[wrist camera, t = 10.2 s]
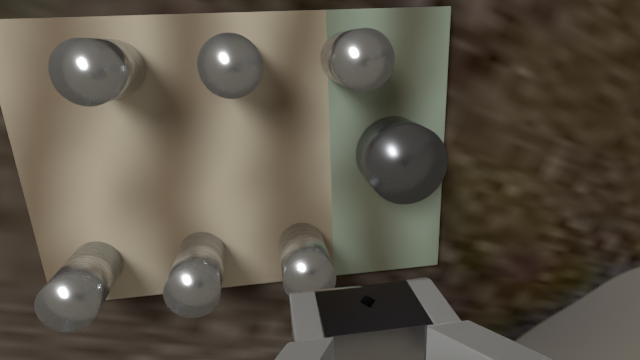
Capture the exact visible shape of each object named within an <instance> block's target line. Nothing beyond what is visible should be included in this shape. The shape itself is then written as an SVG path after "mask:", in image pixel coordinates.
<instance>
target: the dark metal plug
mask: <svg viewBox="0 0 640 360" xmlns="http://www.w3.org/2000/svg"><path fill="white" fill-rule="evenodd" d="M356 162H357V166H358V168H359V170H360V172H361V174H362V175H363V176H364V178H365V179H366V180H367V181H368V182H369V184H370V185H371V186H372V187H373V189H374V190H375V191H376V192H377V193H378V194H379V195H380V196H381V197H382V198H384V199H385V200H387V201H389V202H392V203H395V204H413V203H416V202H419V201H421V200H423V199H425V198H427V197H428V196H430V195H431V194H432V193H433V192H434V191H435V190H436V189H437V188H438V187H439V185H440V184H441V182H442V180H443V179H444V176H445V174H446V170H447V164H448V157H447V152H446V148H445V146H444V143H443V142H442V140H441V139H440V138H439V136H438V135H437V134H435V133H434V132H433V131H431V130H430V129H428V128H426V127H424V126H422V125H420V124H417V123H415V122H413V121H411V120H409V119H407V118H404V117H400V116H389V117H384V118H381V119H379V120H377V121H375V122H373V123H372V124H371V125H369V126H368V127H367V128H366V130H365V131H364V132H363V133H362V135H361V137H360V139H359V141H358V144H357V148H356Z"/></svg>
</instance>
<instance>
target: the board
mask: <svg viewBox="0 0 640 360" xmlns="http://www.w3.org/2000/svg"><path fill="white" fill-rule="evenodd" d="M450 18H451V6H445V7H410V8H376V9H341V10H306V11H271V12H237V13H202V14H167V15H132V16H98V17H63V18H28V19H0V105H1V109H2V113H3V117H4V120H5V124H6V128H7V132H8V136H9V139H10V143H11V147H12V151H13V155H14V158H15V162H16V166H17V170H18V173H19V177H20V181H21V185H22V189H23V192H24V196H25V200H26V204H27V208H28V211H29V215H30V219H31V223H32V227H33V230H34V234H35V238H36V242H37V246H38V249H39V253H40V257H41V261H42V265H43V268H44V272H45V276H46V280H47V283H48V282H49V281H50V279H51V278H52V277H53V276H54V275H55V274H56V273H57V272H58V270H59V269H60V268H61V267H62V266H63V265H64V264H65V262H66V261H67V260H68V259H69V258H70V257H71V256H72V255H73V253H74V252H75V251H76V250H77V249H78V248H79V247H80V246H82V245H83V244H86V243H89V242H104V243H107V244H109V245H111V246H113V247H114V248H115V249H117V250H118V252H119V253H120V254H121V256H122V259H123V270H122V272H121V274H120V276H119V277H118V279H117V281H116V283H115V284H114V286H113V288H112V289H111V291H110V293H109V294H108V296H107V298H106V299H105V300H112V299H121V298H131V297H140V296H149V295H159V294H163V290H164V286H165V284H166V281H167V278H168V276H169V273H170V270H171V268H172V265H173V263H174V260H175V257H176V255H177V252H178V250H179V247H180V244H181V243H182V241H183V240H184V239H185V238H186V237H187V236H189V235H191V234H193V233H197V232H208V233H211V234H214V235H216V236H217V237H218V238H220V239H221V240H222V242H223V243H224V245H225V248H226V259H225V266H224V273H223V280H222V287H221V288H224V287H233V286H243V285H252V284H261V283H271V282H280V281H283V279H282V270H281V261H280V253H279V239H280V236H281V234H282V233H283V232H284V230H285V229H287V228H288V227H289V226H291V225H293V224H297V223H308V224H311V225H313V226H315V227H316V228H317V229H318V230H319V231H320V232H321V234H322V236H323V239H324V242H325V245H326V248H327V251H328V253H329V256H330V259H331V262H332V265H333V268H334V271H335V274H336V275H345V274H355V273H364V272H373V271H383V270H392V269H401V268H411V267H420V266H430V265H437V264H438V245H439V226H440V208H441V189H442V182H441V184H440V185H439V187H438V188H437V189H436V190H435V191H434V192H433V193H432V194H431V195H430V196H428V197H427V198H425V199H423V200H421V201H419V202H416V203H413V204H395V203H392V202H389V201H387V200H385V199H384V198H382V197H381V196H380V195H379V194H378V193H377V192H376V191H375V190H374V189H373V187H372V186H371V185H370V184H369V182H368V181H367V180H366V179H365V178H364V176H363V175H362V174H361V172H360V170H359V168H358V166H357V162H356V148H357V144H358V141H359V139H360V137H361V135H362V133H363V132H364V131H365V130H366V128H367V127H368V126H369V125H371V124H372V123H373V122H375V121H377V120H379V119H381V118H384V117H389V116H400V117H404V118H407V119H409V120H411V121H413V122H415V123H417V124H420V125H422V126H424V127H426V128H428V129H430V130H431V131H433V132H434V133H435V134H437V135H438V136H439V138H440V139H441V140H442V142H443V143H444V132H445V113H446V94H447V75H448V56H449V37H450ZM359 28H372V29H375V30H378V31H380V32H381V33H383V34H384V35H385V36H386V37H387V38H388V39H389V41H390V42H391V44H392V47H393V50H394V55H395V63H394V68H393V71H392V73H391V75H390V77H389V79H388V80H387V81H386V82H385V83H384V84H383V85H382V86H380V87H379V88H377V89H375V90H373V91H368V92H359V91H355V90H352V89H350V88H348V87H345V86H343V85H341V84H339V83H337V82H334V81H333V80H331V79H330V78H329V77H328V76H327V75H326V74H325V73H324V71H323V69H322V66H321V62H320V54H321V50H322V47H323V45H324V43H325V42H326V40H327V39H328V38H329V37H331V36H332V35H334V34H335V33H338V32H342V31H347V30H353V29H359ZM221 33H236V34H239V35H242V36H244V37H246V38H247V39H249V40H250V41H251V42H252V43H253V44H254V45H255V46H256V48H257V49H258V51H259V53H260V55H261V58H262V64H263V72H262V77H261V80H260V82H259V84H258V85H257V87H256V88H255V89H254V90H253V91H252V92H251V93H249V94H248V95H246V96H244V97H241V98H237V99H227V98H222V97H219V96H217V95H215V94H214V93H212V92H211V91H210V90H208V89H207V88H206V86H205V85H204V84H203V82H202V81H201V78H200V76H199V73H198V68H197V59H198V55H199V52H200V50H201V48H202V46H203V45H204V43H205V42H206V41H207V40H209V39H210V38H211V37H213V36H215V35H217V34H221ZM71 38H97V39H117V40H122V41H125V42H127V43H129V44H131V45H132V46H134V47H135V48H136V49H137V50H138V51H139V52H140V54H141V55H142V57H143V59H144V61H145V65H146V76H145V80H144V82H143V84H142V85H141V87H140V88H139V89H137V90H136V91H135V92H133V93H130V94H128V95H125V96H123V97H120V98H117V99H115V100H112V101H109V102H107V103H104V104H101V105H98V106H92V107H87V106H81V105H77V104H74V103H72V102H70V101H68V100H67V99H65V98H64V97H63V96H62V95H60V93H59V92H58V91H57V90H56V89H55V87H54V86H53V84H52V82H51V80H50V76H49V72H48V63H49V58H50V55H51V53H52V52H53V50H54V49H55V48H56V46H57V45H59V44H60V43H61V42H63V41H65V40H68V39H71Z"/></svg>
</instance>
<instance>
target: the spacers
mask: <svg viewBox="0 0 640 360" xmlns="http://www.w3.org/2000/svg"><path fill="white" fill-rule="evenodd" d="M320 62H321V66H322V69H323V71H324V73H325V74H326V75H327V76H328V77H329V78H330V79H331V80H333V81H334V82H337V83H339V84H341V85H343V86H345V87H348V88H350V89H352V90H355V91H359V92H368V91H373V90H375V89H377V88H379V87H380V86H382V85H383V84H384V83H385V82H386V81H387V80H388V79H389V77H390V75H391V73H392V71H393V68H394V63H395V55H394V50H393V47H392V44H391V42H390V41H389V39H388V38H387V37H386V36H385V35H384V34H383V33H381V32H380V31H378V30H375V29H372V28H359V29H353V30H347V31H342V32H338V33H335V34H334V35H332V36H331V37H329V38H328V39H327V40H326V42H325V43H324V45H323V47H322V50H321V54H320ZM197 68H198V73H199V76H200V78H201V81H202V82H203V84H204V85H205V86H206V88H207V89H208V90H210V91H211V92H212V93H214V94H215V95H217V96H219V97H222V98H227V99H237V98H241V97H244V96H246V95H248V94H249V93H251V92H252V91H253V90H254V89H255V88H256V87H257V85H258V84H259V82H260V80H261V77H262V72H263V64H262V58H261V55H260V53H259V51H258V49H257V48H256V46H255V45H254V44H253V43H252V42H251V41H250V40H249V39H247V38H246V37H244V36H242V35H239V34H236V33H221V34H217V35H215V36H213V37H211V38H210V39H209V40H207V41H206V42H205V43H204V45H203V46H202V48H201V50H200V52H199V55H198V59H197ZM48 72H49V76H50V80H51V82H52V84H53V86H54V87H55V89H56V90H57V91H58V92H59V93H60V95H62V96H63V97H64V98H65V99H67V100H68V101H70V102H72V103H74V104H77V105H81V106H87V107H92V106H98V105H101V104H104V103H107V102H109V101H112V100H115V99H117V98H120V97H123V96H125V95H128V94H130V93H133V92H135V91H136V90H137V89H139V88H140V87H141V85H142V84H143V82H144V80H145V76H146V65H145V61H144V59H143V57H142V55H141V54H140V52H139V51H138V50H137V49H136V48H135V47H134V46H132V45H131V44H129V43H127V42H125V41H122V40H117V39H97V38H71V39H68V40H65V41H63V42H61V43H60V44H59V45H57V46H56V48H55V49H54V50H53V52H52V53H51V55H50V58H49V63H48ZM279 253H280V261H281V270H282V279H283V287H284V290H285V292H286V294H287V296H288V297H289V298H290V292H298V291H307V290H313V291H314V290H319V289H330V288H335V285H336V274H335V271H334V268H333V265H332V262H331V259H330V256H329V253H328V251H327V248H326V245H325V242H324V239H323V236H322V234H321V232H320V231H319V230H318V229H317V228H316V227H315V226H313V225H311V224H308V223H297V224H293V225H291V226H289V227H288V228H287V229H285V230H284V232H283V233H282V234H281V236H280V239H279ZM225 259H226V248H225V245H224V243H223V242H222V240H221V239H220V238H218V237H217V236H216V235H214V234H211V233H208V232H197V233H193V234H191V235H189V236H187V237H186V238H185V239H184V240H183V241H182V243H181V244H180V247H179V250H178V252H177V255H176V257H175V260H174V263H173V265H172V268H171V270H170V273H169V276H168V278H167V281H166V284H165V286H164V290H163V298H164V301H165V303H166V305H167V307H168V308H169V309H170V310H171V311H172V312H174V313H175V314H177V315H179V316H182V317H187V318H196V317H201V316H204V315H206V314H208V313H210V312H211V311H212V310H213V309H214V308H215V307H216V306H217V304H218V302H219V299H220V294H221V287H222V280H223V273H224V266H225ZM122 270H123V259H122V256H121V254H120V253H119V252H118V250H117V249H115V248H114V247H113V246H111V245H109V244H107V243H104V242H89V243H86V244H83V245H82V246H80V247H79V248H78V249H77V250H76V251H75V252H74V253H73V255H72V256H71V257H70V258H69V259H68V260H67V261H66V262H65V264H64V265H63V266H62V267H61V268H60V269H59V270H58V272H57V273H56V274H55V275H54V276H53V277H52V278H51V279H50V281H49V282H48V283H47V284H46V285H45V286H44V287H43V289H42V290H41V291H40V292H39V293H38V295H37V296H36V299H35V303H34V308H35V312H36V315H37V316H38V318H39V319H40V321H41V322H42V323H44V324H45V325H46V326H48V327H49V328H51V329H54V330H57V331H61V332H74V331H78V330H81V329H83V328H85V327H87V326H88V325H89V324H90V323H91V322H92V321H93V319H94V318H95V316H96V314H97V313H98V311H99V309H100V308H101V306H102V304H103V303H104V301H105V299H106V298H107V296H108V294H109V293H110V291H111V289H112V288H113V286H114V284H115V283H116V281H117V279H118V277H119V276H120V274H121V272H122Z"/></svg>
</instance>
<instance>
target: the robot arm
mask: <svg viewBox="0 0 640 360" xmlns="http://www.w3.org/2000/svg"><path fill="white" fill-rule="evenodd" d="M290 310H291V324H292V338H293V342H289V343H287V344H286V346H285V347H284V348H283V350H282V351H281V352H280V353H279V355H278V356H277V357H276V358H275V360H553V359H551V358H549V357H547V356H545V355H543V354H540V353H538V352H536V351H534V350H532V349H530V348H527V347H525V346H523V345H521V344H519V343H517V342H514V341H512V340H510V339H508V338H506V337H504V336H501V335H499V334H497V333H495V332H493V331H491V330H489V329H486V328H484V327H482V326H480V325H478V324H476V323H473V322H471V321H469V320H468V321H461V320H460V318H459V317H458V316H457V314H456V313H455V311H454V310H453V309H452V307H451V306H450V305H449V303H448V302H447V301H446V299H445V298H444V297H443V295H442V294H441V293H440V291H439V290H438V289H437V287H436V286H435V285H434V283H433V282H432V281H431V279H429V278H427V277H424V278H417V279H410V280H404V281H397V282H390V283H382V284H375V285H368V286H352V287H341V288H330V289H319V290H314V291H313V290H307V291H298V292H290Z"/></svg>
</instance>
